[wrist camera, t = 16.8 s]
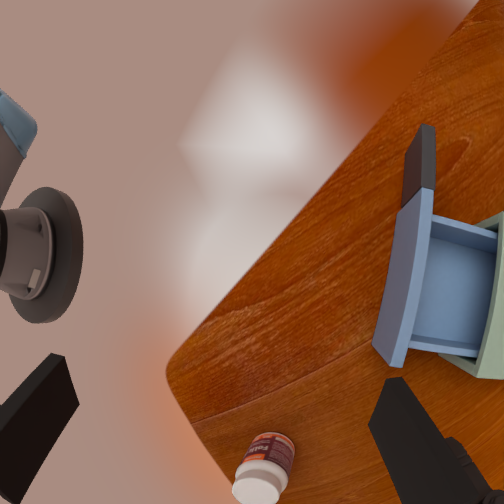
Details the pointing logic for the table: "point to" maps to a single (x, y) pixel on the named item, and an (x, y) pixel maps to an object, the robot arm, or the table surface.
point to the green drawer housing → (489, 318)
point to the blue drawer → (433, 271)
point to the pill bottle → (264, 469)
